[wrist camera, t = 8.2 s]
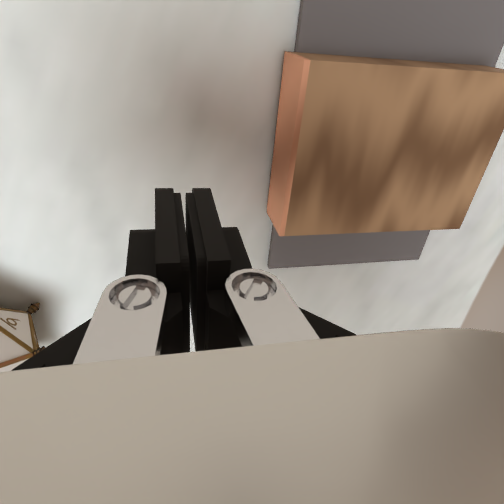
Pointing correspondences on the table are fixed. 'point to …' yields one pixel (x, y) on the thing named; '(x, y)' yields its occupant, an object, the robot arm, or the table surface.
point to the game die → (17, 337)
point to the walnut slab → (380, 143)
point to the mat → (387, 47)
